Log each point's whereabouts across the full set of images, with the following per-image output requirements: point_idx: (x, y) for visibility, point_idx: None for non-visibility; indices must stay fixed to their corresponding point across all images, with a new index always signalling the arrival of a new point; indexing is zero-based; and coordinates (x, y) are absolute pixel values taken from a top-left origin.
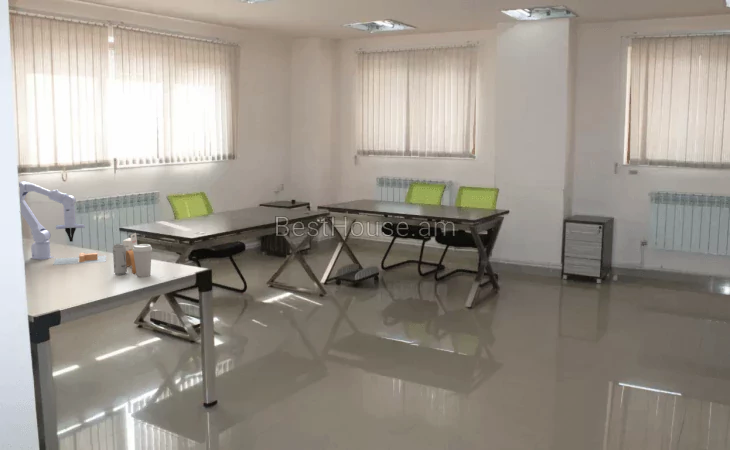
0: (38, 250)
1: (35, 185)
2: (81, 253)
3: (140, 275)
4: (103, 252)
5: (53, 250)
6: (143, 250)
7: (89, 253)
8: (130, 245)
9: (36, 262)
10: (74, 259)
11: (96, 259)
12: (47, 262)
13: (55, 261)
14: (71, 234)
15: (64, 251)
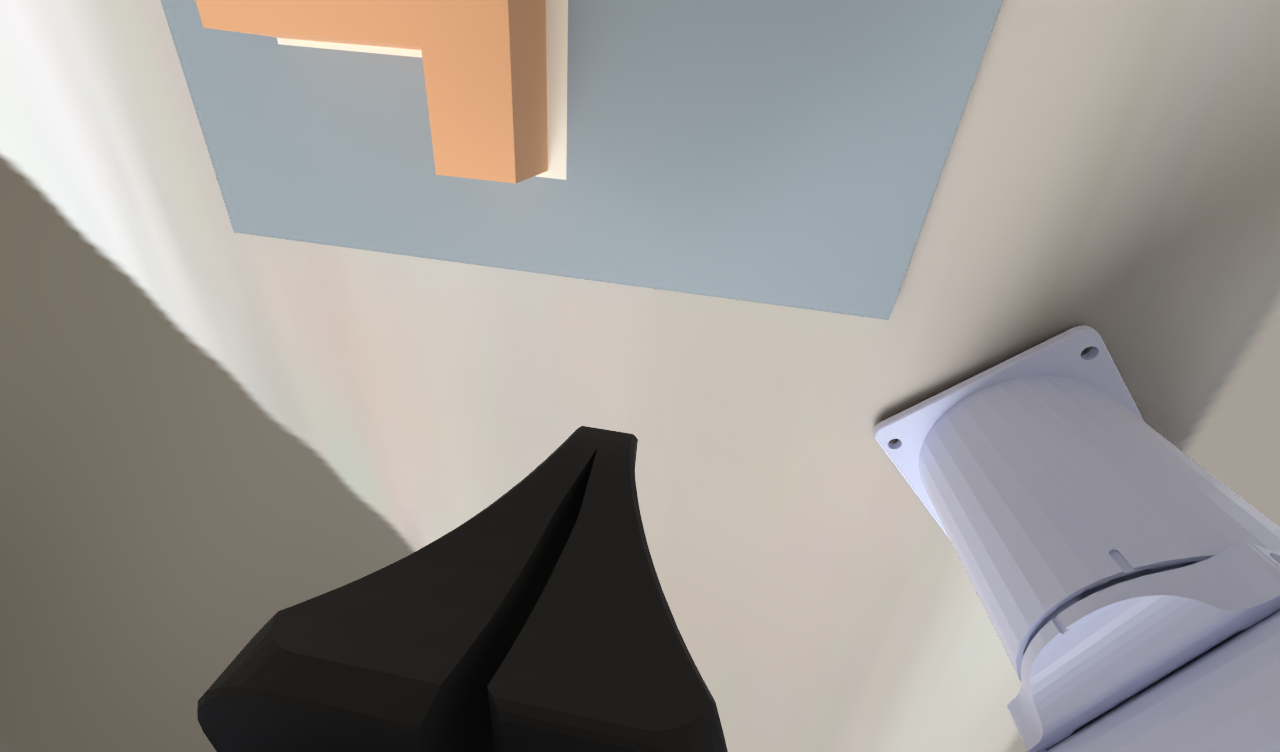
0: (1221, 482)
1: None
2: (482, 112)
3: None
4: (344, 474)
5: (791, 735)
6: None
7: (334, 37)
8: None
9: (1251, 189)
10: (631, 99)
11: None
12: (1087, 99)
13: (968, 26)
14: (521, 541)
15: (707, 666)
